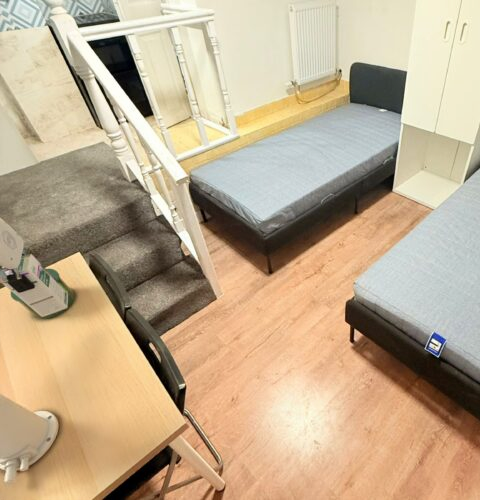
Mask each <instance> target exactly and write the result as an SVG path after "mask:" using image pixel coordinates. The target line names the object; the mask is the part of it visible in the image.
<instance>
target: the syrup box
mask: <svg viewBox="0 0 480 500" xmlns="http://www.w3.org/2000/svg"><path fill="white" fill-rule="evenodd" d="M1 268H4V267H3V266H1ZM46 269H47V268H45V266H43V265H42V263H41V262H40V261H39V260H38V259H37V258H36V257H35V255H33V254H32V253H28V254H26V255H24V256H21V261H20V264H19V266H18V267H17V270H18V271H19V273H20V274H21V275H25V276H26V277H27V278H28V279H29V280H30V281H31V282H32V283H33V284H34V285H35V288H34V289H31V290H28V291H24V292H21V293H18V292H17V291H16V290H15V289H14V288H12V287H11V286H10V285H9V284H8V283H2V285H3V286H5V287H6V288H7V289H8V290H9V291H10V292H11V291H12V292H13V293H14V294H15V295H17V296H18V297H19V298H20V299H21V300H22V301H24V302H25V303H26V304H27V305H28V306H30V307H31V308H32V309H33V310H34V311H35V312H37V313H38V314H39V315H40V316H41V317H44V316H47V315H50V314H53V313H55V312H58V311H61V310H63V309H66V308H68V306H67V305H68V291H67V290H66V289H65V288H64V287H63V286H62V285H61V284H60V283H59V282H58V281H57V280H56V279H55V278H54V277H53V276H52V275H51V274H50V273H49V272H48V271H47V270H46ZM5 274H6V275H10V274H13V273H12V271H11V270H8V271H5ZM68 309H69V308H68Z"/></svg>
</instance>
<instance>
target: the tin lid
mask: <svg viewBox="0 0 480 500" xmlns="http://www.w3.org/2000/svg"><path fill="white" fill-rule="evenodd" d="M45 269H46V270H47V271H48V272H49V273H50V274H51V275H52V276H53V277H54V278H55V279H56V280H57V281H59V278H61V276H60V273H59V272H58V270H56V269H54V268H45ZM10 297H11V299H12V300H14V301H15V302H18V303H20V302H24V301H22V300H21V299H20V298H19V297H18V296H17V295H15V294H14V293H13V292H12V291H11V290H10Z"/></svg>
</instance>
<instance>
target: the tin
mask: <svg viewBox="0 0 480 500" xmlns="http://www.w3.org/2000/svg"><path fill="white" fill-rule="evenodd" d="M58 282H59V283H60V284H61V285H62V286H63V287H64V288H65V289H66V290H67V291H68V305H67V306H68V308H66V309H63V310H61V311H58V312H55V313H53V314H50V315H47V316H44V317H41V316H40V315H39V314H38V313H37V312H35V311H34V310H33V309H32V308H31V307H30V306H28V305H27V304H26V303H25V302H19V304H20V305H22V306H23V307H24V308H25V309H26V310H27V311H29V312H30V313H31V314H32V315H33V316H34V317H35V318H37V319H39V320H40V319H41V320H48V319H52V318H55V317H57V316H60V315H61V314H64V313H65V312H66V311H67V310H68V309H69V308H70V307H71V306H72V305H73V303H74V302H75V298H76V295H75V293H74V291H73V290H72V289H71V287H70V286H69V285H68V284H67V283H66V282H65V281H64V280H63V278H62V277H60V278H59V281H58Z"/></svg>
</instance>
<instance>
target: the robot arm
mask: <svg viewBox="0 0 480 500" xmlns="http://www.w3.org/2000/svg"><path fill="white" fill-rule="evenodd" d="M24 245H25V242H24V239H23V238H22V237H21V235H20V234H19V233H17V231H16V230H14V228H12V226H10V225H9V224H8V222H6V221H5V220H4V219H3V218H2V217H0V284H3V283H8V284H9V285H10V286H11V287H12V288H14V289H15V290H16V291H17V292H18V293H21V292H24V291H28V290H31V289H34V288H35V285H34V284H33V283H32V282H31V281H30V280H29V279H28V278H27V277H26V276H25V275H21V274H20V273H19V271H18V270H17V267H18V266H19V264H20V261H21V256H24V255H27V251H26V250H25V249H24V247H25V246H24ZM2 266H3V267H4V268H2ZM8 270H11V271H12V273H13V274H10V275H6V274H5V271H8ZM58 432H59V420H58V418H57V416H56V415H55V414H53V412H50V411H48V410H47V411H46V410H37V411H34V412H33V411H32V410H30V409H29V408H27V407H25V406H23V405H21V404H19V403H18V402H16V401H14V400H12V399H11V398H9V397H6V396H5V395H4V394H2V393H0V469H1V470H2V471H5V474H4V477H3V478H4V480H3V485H6V486H7V485H11V484H13V483H15V482H16V481H17V475H18V472H17V471H20V472H25V471H27V470H29V467H30V466H31V465H34V463H36V462H37V461H38V460H40V459H41V458H42V457H43V456H44V455H45V454H46V453H47V452H48V451H49V449H50V448H51V446H52V445H53V443H54V442H55V440H56V437H57V435H58Z"/></svg>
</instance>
